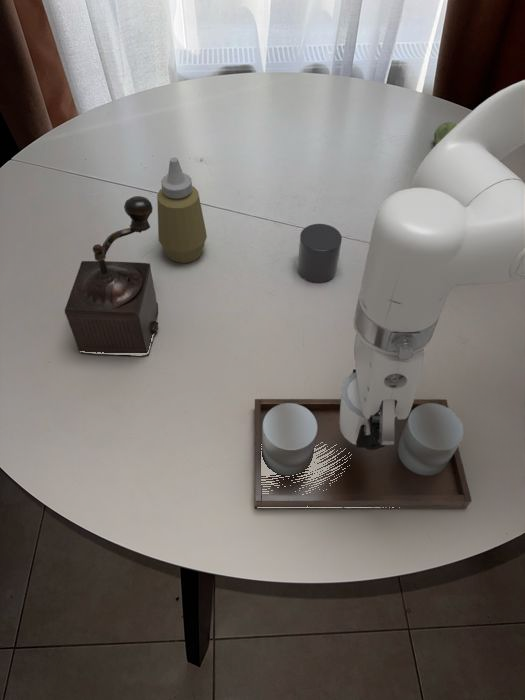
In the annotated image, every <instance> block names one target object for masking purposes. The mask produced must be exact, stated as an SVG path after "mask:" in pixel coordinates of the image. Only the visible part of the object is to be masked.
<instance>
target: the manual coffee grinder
mask: <svg viewBox="0 0 525 700" xmlns="http://www.w3.org/2000/svg"><path fill="white" fill-rule="evenodd" d="M123 208H124V212H125V214H126V215H127V216H128V217H129V218H130V219H131V221H130V225H129V227H128V228H124V229H123V228H122V229H120V230H117V231H115V232H113V233H111V234H110V235H108V236H107V237H106V239H105V240H104V242H103V243H102V244H98V243H96V244H94V245H93V246H92V251H93V255H94V256H93V257H94V260H93V261H92V260H81V262H80V265H79V268H78V271H77V273H76V277H75V279H74V283H73V285H72V287H71V290H70V292H69V296H68V300H67V303H66V305H65V307H64V314H65V317H66V319H67V322H68V324H69V327H70V329H71V332H72V335H73V338H74V340H75V344H76V346H77V349H78V352H79V351H85V352H96V353H97V352H101V353H102V352H104V353H147V352H148V350H149V346H150V343H151V338H152V335H153V334H154V333H156V334H157V333H158V330H159V321H157V322H156V318H157V319H158V317H157V316H159V304H158V300H157V295H156V289H155V284H154V280H153V274H152V268H151V266H152V265H151V264H150V262H137V261H136V262H135V261H134V262H132V261H111V260H109V261H108V260H106V259H107V258H106V257H107V256H106V255H107V253H108V251H109V249H110V248H111V246H112V244H113V243H114V242H115V241H116V240H118V239H120V238H122V237H126V236H129V235H131V234H134V233H142V232H146V231H147V230H149V229H150V228H151V225H150V223H149V220H148V219H149V217H150V215H151V214H152V213H153V210H154V209H153V205H152V202H151V201H150V200H149V199H148V197H144V196H140V195H137V196H136V195H135V196H132V197H130V198H128V199H126V200H125V203H124V206H123Z"/></svg>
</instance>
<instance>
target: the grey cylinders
mask: <svg viewBox="0 0 525 700" xmlns="http://www.w3.org/2000/svg"><path fill="white" fill-rule="evenodd" d="M342 241H343V239H342V234H341V232H340V231H339V230H338V229H337V228H336V227H334V226H332V225H329V224H325V223H312V224H310V225H307V226H306V227H304V228H302V230H301V232H300V234H299V243H298V244H299V245H298V257H297V266H296V267H297V272H298V275H299V277H301V278H302V279H304V280H306V281H307V282H309V283H313V284H324V283H327V282H329V281H331V280H333V279H334V277H336V275H337V271H338V265H339V258H340V254H341V253H340V252H341V247H342Z"/></svg>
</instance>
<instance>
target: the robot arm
mask: <svg viewBox="0 0 525 700" xmlns="http://www.w3.org/2000/svg"><path fill="white" fill-rule="evenodd" d="M456 125H457V126H455V127H454V128H453V129H452V130H451V131H450V132H449V133H448V134H447V135H446V136H445V137H444V138H443V139H442V140H441V141H440V142H439V143H438V144H437V145H436V146H435V145H434V146H433V148H432V149H431V150H430V151H429V153H427V155H426V156H425V157H424V159H423V160H422V161H421V163H420V165H419V166H418V167H417V171H416V172H415V174H414V177H413V180H412V181H413V182H412V187H410V188H404V189H401V190H398V191H396V192H394V193H392V194H391V195H390V196H388V197H386V199H384V200H383V202H382V203H381V205H379V208H378V210H377V212H376V215H375V218H374V223H373V227H372V232H371V235H370V241H369V245H368V251H367V254H366V259H365V263H364V269H363V275H362V279H361V284H360V289H359V293H358V297H357V301H356V307H355V311H354V317H353V328H354V331H355V338H354V344H353V358H354V369H353V370H352V373H354V372H356V376H357V383H358V390H359V397H360V404H361V409H362V413H363V415H364V416H365V422H364V425H361V427H360V430H359V434H358V437H357V441H356V446H357V447H358V448H366V449H368V450H376V449H379V448H383V447H385V445H394V428H395V414H396V416H397V419H398V420H400V419H406V418H407V417H408V415H409V413H410V411H411V408H412V405H413V402H414V399H416V395H417V392H418V387H419V384H420V380H421V376H422V370H423V366H424V365H423V364H424V356H425V348H426V347H428V346H429V344H430V342H431V340H432V338H433V335H434V334H435V330H436V327H437V325H438V322H439V320H440V317H441V314H442V312H443V309H444V307H445V304H446V301H447V298H448V296H449V293H450V291H451V289H452V288H453V287H458V286H459V287H461V286H476V285H496V284H497V285H498V284H507V283H514V282H518V281H521V280H525V181H524V180H523V179H522V178H520V177H519V176H518V175H517V174H516V173H514V172H513V171H512V170H511V169H510V168H508V167H507V166H506V165H505V164H504V163H502V162H501V160H503V159H504V158H506V156H508V155H509V154H511V153H512V152H513V151H515V150H516V149H518V148H520V147H521V146H524V145H525V79H522V80H521V81H518V82H516V83H513V84H511V85H509V86H507V87H505V88H502V89H500V90H499V91H497V92H496V93H494V94H492V95H491V96H490V97H488V98H487V99H485V100H484V101H483V102H481V103H480V104H479V105H478V106H476V107H475V108H474V109H473V110H472V111H470V113H468V114H467V115H466V116H465V117H464V118H463V119H462V120H460V121H459V123H457V124H456ZM372 416H380V423H372Z"/></svg>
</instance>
